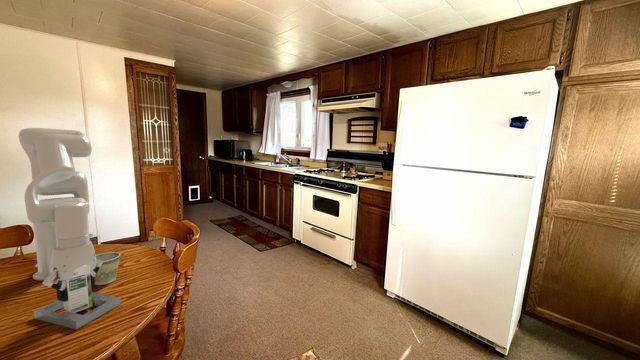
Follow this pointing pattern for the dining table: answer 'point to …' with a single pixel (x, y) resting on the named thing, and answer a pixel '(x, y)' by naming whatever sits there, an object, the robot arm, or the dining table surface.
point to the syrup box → (79, 290)
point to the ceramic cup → (107, 267)
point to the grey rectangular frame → (75, 319)
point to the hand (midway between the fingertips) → (77, 293)
